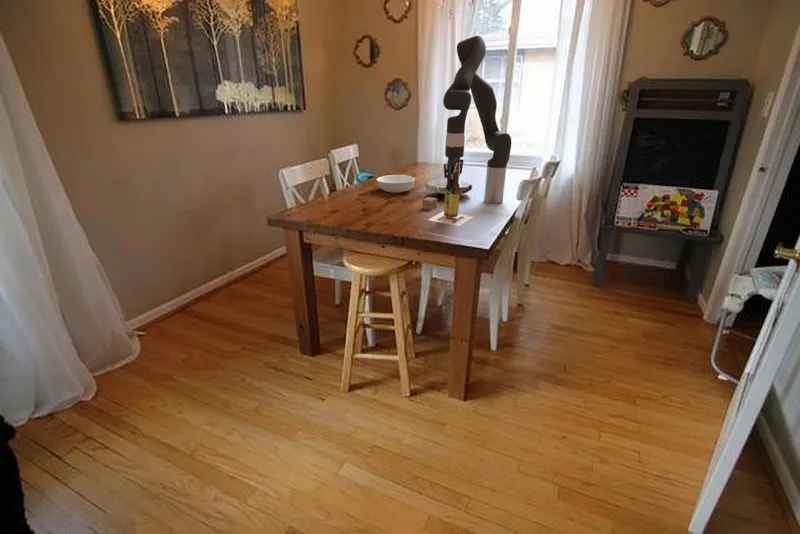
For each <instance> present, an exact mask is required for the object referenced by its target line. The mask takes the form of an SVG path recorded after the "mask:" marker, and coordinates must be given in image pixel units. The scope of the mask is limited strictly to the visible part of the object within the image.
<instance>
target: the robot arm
mask: <svg viewBox="0 0 800 534" xmlns="http://www.w3.org/2000/svg"><path fill="white" fill-rule="evenodd" d="M486 50H487V47H486V42H485V40H484V37H482V35H480V34H478V35H474V36H470V37H468V38H466V39H464V40H461V41H459V42H458V43H456V53H457V57H458V60H459V62H460V64H461V66H460V67H459V68H458V70H457V72H456V74H455V76H454V80H453V82H452V84H451V85H450V86H449V88H447V90H446V92H445V94H444V95H443V99H442V103H443V106H444V108H445V109H446V110H448V111H460V112H459V114H458V115H454V116H450V117H448V118H447V122H446V135H445V150H444V152H445V153H444V156H445V157H447V163H443V177H444V179H446V185H447V188H452V186H453V175H454V174H455V171H456V170H459V174H458V183H459V180H460V179H459V178H460V175H461V174H462V173H463V165H464V161H465V160H464V159H462V158H463V157H464V155H465V154H464V153H465V143H466V142H465V141H466V140H465V139H466V137H465V131H466V120H467V115H468V112H469V109H470V107H471V103H472V100H473V103H474V105H475V106H474V107H475V108H476V111H477V114H478V117H479V120H480V123H481V128H482V130H483V135H484V140H485V144H486V148H487V149H489V150H490V151H492V152H493V154H492V157H491V158H490V159H488V160H487V164H486V175H485V183H484V185H485V186H484V195H483V197H484V198H483V202H485V203H488V204H501V203H503V202H502V201H504V200H503V199H504V193H505V192H504V191H505V184H506V183H505V182H506V176H507V175H506V173H507V165H508V162H509V160H510V157H511V156H510V155H511V148H512V137H511V135H510V134H509V133H507V132H503V131H500V129H499V127H498V123H497V118H496V115H497V107H498V105H497V98H496V95H495V92H494V87H492V85H491V83H489V82H488V81H486V80H485V79H484V78H483V77H482V76H481V75H480V74H479V73H478V72H477V71H478V69H479V67H480V65H481V63H482V61H483V60H484V58H485V56H486V52H487V51H486ZM462 175H463V174H462ZM459 184H460V183H459Z"/></svg>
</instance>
